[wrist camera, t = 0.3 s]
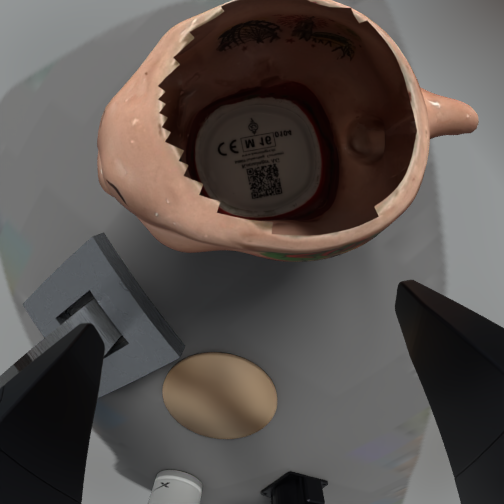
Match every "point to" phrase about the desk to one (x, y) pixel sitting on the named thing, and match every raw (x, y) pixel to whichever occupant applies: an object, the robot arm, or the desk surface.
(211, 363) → the walnut coaster
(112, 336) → the grey square bar
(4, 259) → the desk surface
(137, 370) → the grey flat square frame
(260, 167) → the decorative planter
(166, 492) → the travel mug
